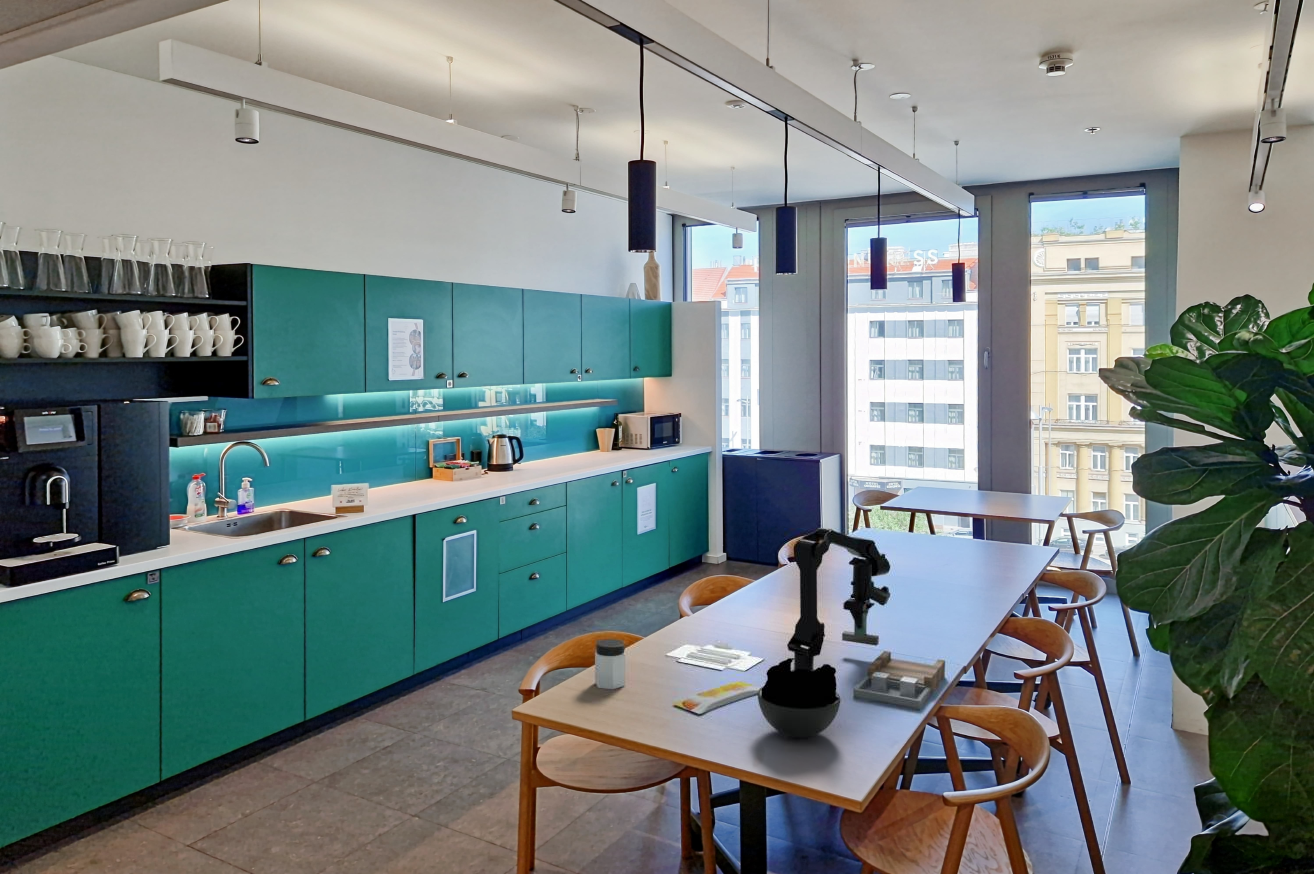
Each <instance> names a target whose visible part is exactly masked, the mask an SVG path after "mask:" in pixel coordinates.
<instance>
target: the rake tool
mask: <svg viewBox="0 0 1314 874" xmlns="http://www.w3.org/2000/svg"><path fill="white" fill-rule="evenodd" d="M867 619H868V615H867V612H865V613H864V616H863V622H862V627H861V629H858V628H857V626H856V624H855V621H854V620H853V621H854V622H853V623H854V624H853V626H854V627H853V628H854V629H853V630H854V631H847V630H843V632H842V633H841V637H842V638H841V641H842V642H843V641H844V642H848V643H849V642H850V643H851V642H852V643H855V644H864V645H869V646H878V645H879V642H880V638H879V635H874V634H868V633H867Z"/></svg>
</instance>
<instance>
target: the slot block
mask: <svg viewBox="0 0 1314 874" xmlns="http://www.w3.org/2000/svg"><path fill="white" fill-rule="evenodd" d="M866 672H867V675H866V676H871V677H872V675H873V674H874V673H875V672H881V673H887V674H890V680H894V681H900V680H901V679H902V678H903V677H910V678H916V679H918V685H923V686H929V687H931V696H932V694H933V693H934V692H935V691H936V690H937V688H939V686H940V684H941V682H943V680H944V679H945V676H946V674H945V672H946V660H944V659H937V660H936V661H935V663H934V664H927V663H923V662H922V663H921V662H915V661H908V660H903V659H896V658H892V651H887V650H884V651H883V652H882V653H880V654H879V655H878V657H876V658H875V659H874V660H873V661H872V662H871V663H870V664H869V665H868V666H867V671H866Z"/></svg>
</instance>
